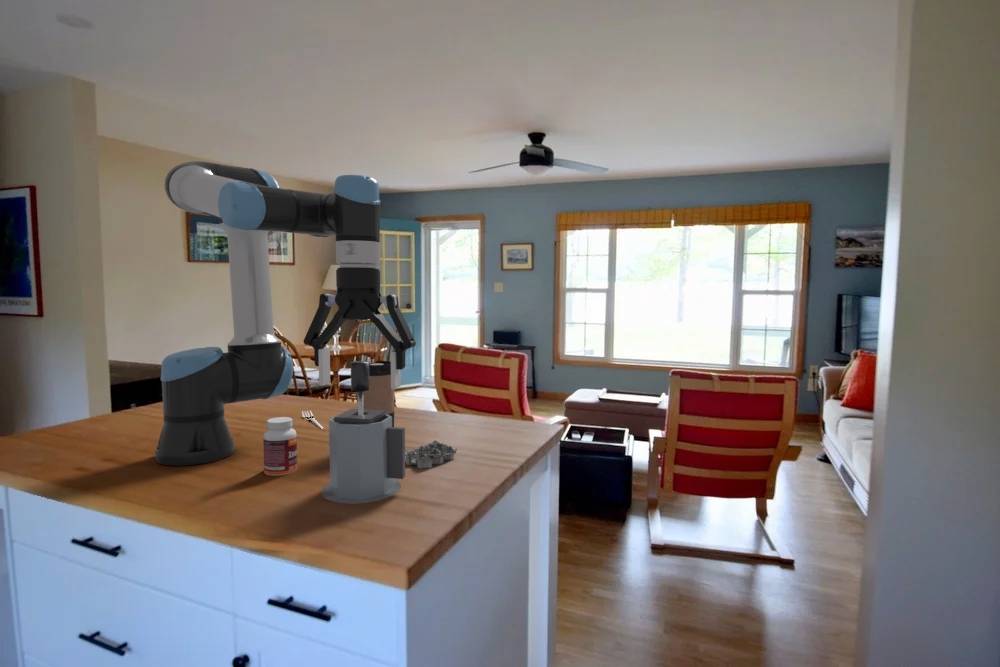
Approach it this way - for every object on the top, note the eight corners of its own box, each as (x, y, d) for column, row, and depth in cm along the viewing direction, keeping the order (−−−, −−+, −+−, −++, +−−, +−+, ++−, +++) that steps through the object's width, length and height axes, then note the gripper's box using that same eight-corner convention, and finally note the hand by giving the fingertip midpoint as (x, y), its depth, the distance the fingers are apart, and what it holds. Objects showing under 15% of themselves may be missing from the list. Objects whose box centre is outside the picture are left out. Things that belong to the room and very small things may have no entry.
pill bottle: (295, 478, 106) (293, 422, 105) (261, 480, 105) (259, 424, 104) (299, 467, 112) (298, 415, 111) (267, 469, 111) (265, 416, 110)
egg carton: (423, 475, 109) (423, 455, 109) (399, 467, 114) (398, 448, 114) (460, 462, 117) (460, 443, 117) (436, 455, 122) (436, 437, 122)
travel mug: (386, 454, 122) (385, 365, 120) (355, 452, 123) (353, 364, 121) (399, 444, 129) (399, 361, 127) (369, 442, 131) (368, 360, 129)
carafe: (322, 496, 95) (320, 418, 94) (348, 476, 105) (347, 406, 104) (393, 502, 93) (392, 422, 91) (413, 481, 103) (413, 409, 101)
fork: (319, 435, 140) (319, 428, 139) (300, 417, 156) (300, 411, 156) (332, 433, 141) (332, 426, 141) (312, 416, 158) (311, 409, 158)
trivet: (306, 504, 94) (306, 499, 94) (344, 476, 107) (343, 472, 107) (383, 510, 91) (383, 506, 91) (411, 481, 105) (411, 477, 105)
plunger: (330, 480, 96) (328, 364, 94) (351, 465, 104) (349, 358, 102) (373, 483, 94) (371, 366, 92) (390, 468, 102) (389, 359, 100)
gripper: (281, 265, 94) (284, 386, 96) (419, 266, 90) (419, 393, 92) (304, 267, 102) (307, 379, 104) (432, 267, 97) (433, 385, 99)
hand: (359, 386), depth 98 cm, fingers open, 13 cm apart
